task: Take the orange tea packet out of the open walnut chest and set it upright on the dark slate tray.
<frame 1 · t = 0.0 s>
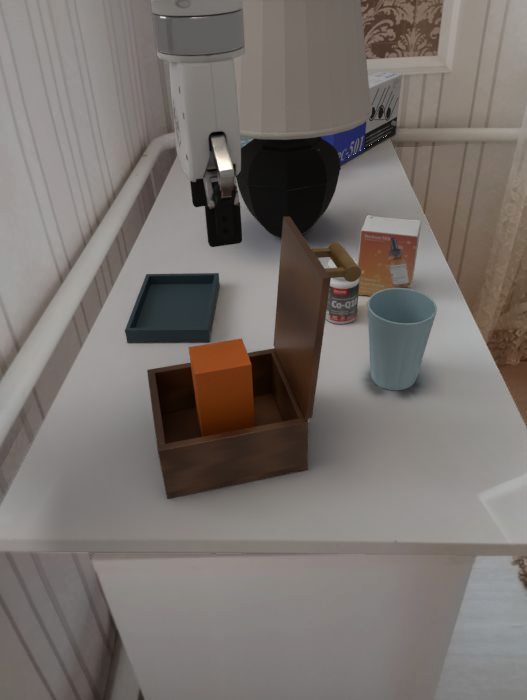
hand: (216, 223, 61), 21 cm above the cabinet, tool pointing down, fingers open, 9 cm apart
packet: (227, 435, 65), point 1 cm above the cabinet, touching chest
ink box: (355, 149, 142), on the cabinet
lid: (319, 314, 59), point 15 cm above the cabinet, hinge at 95.0°
table lamp: (287, 233, 107), on the cabinet
cup: (392, 377, 74), on the cabinet
chest: (227, 441, 66), on the cabinet
small box: (384, 290, 90), on the cabinet
book: (267, 169, 133), on the cabinet
tray: (176, 311, 87), on the cabinet
pill bottle: (339, 316, 85), on the cabinet
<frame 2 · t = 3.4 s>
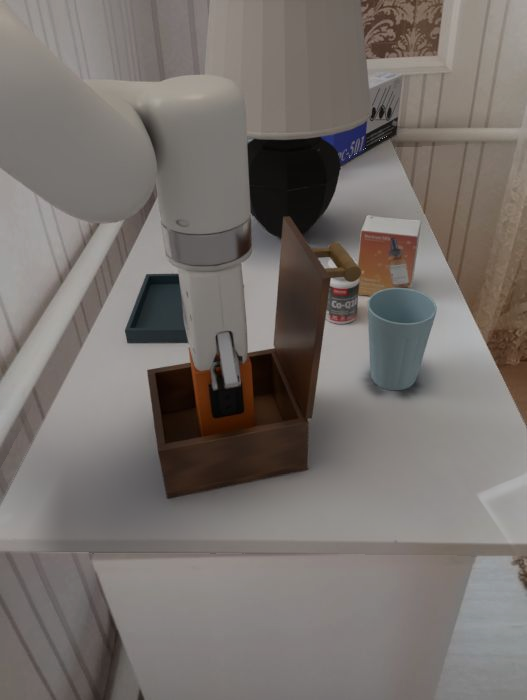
hand: (223, 395, 62), 7 cm above the cabinet, tool pointing down, fingers closed on packet, 4 cm apart
packet: (227, 435, 65), point 1 cm above the cabinet, touching chest, gripper
everything else where it was.
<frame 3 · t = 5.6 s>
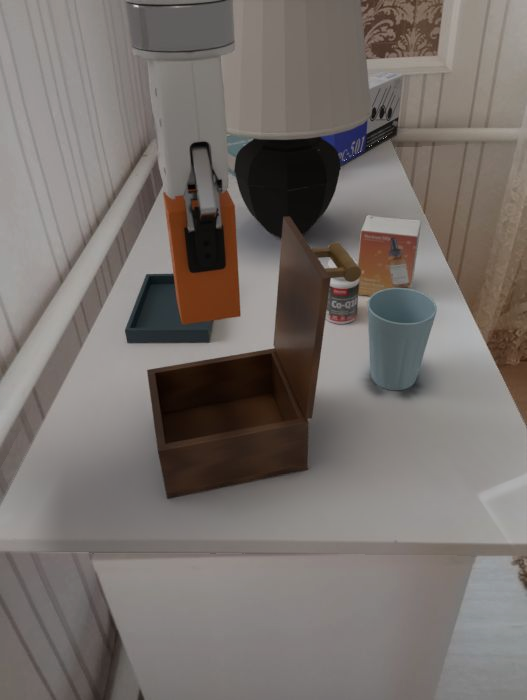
hand: (202, 253, 54), 22 cm above the cabinet, tool pointing down, fingers closed on packet, 4 cm apart
packet: (208, 308, 57), point 16 cm above the cabinet, touching gripper
everything else where it was.
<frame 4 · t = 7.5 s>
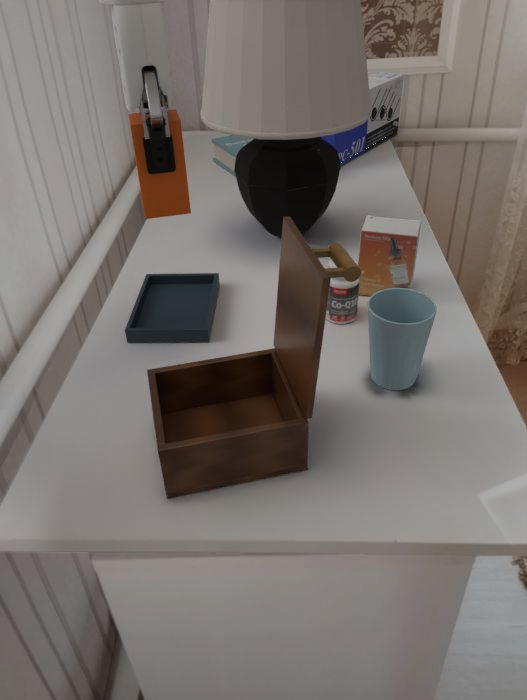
hand: (159, 162, 70), 23 cm above the cabinet, tool pointing down, fingers closed on packet, 4 cm apart
packet: (166, 209, 74), point 17 cm above the cabinet, touching gripper
everything else where it was.
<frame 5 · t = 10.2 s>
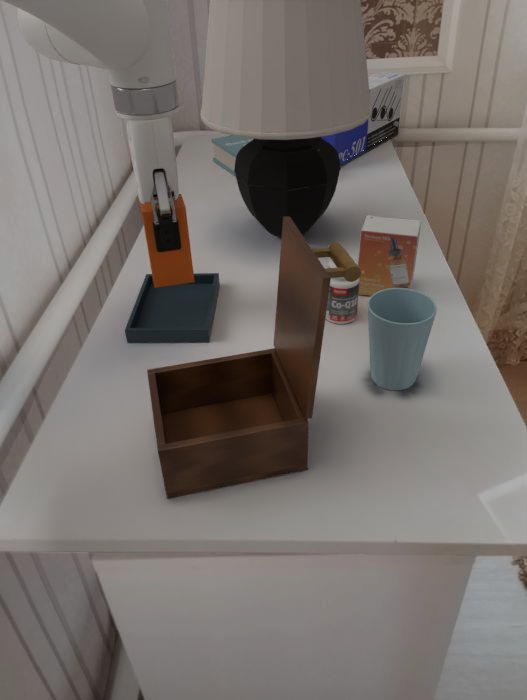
hand: (166, 239, 80), 11 cm above the cabinet, tool pointing down, fingers closed on packet, 4 cm apart
packet: (172, 277, 84), point 6 cm above the cabinet, touching gripper
everything else where it was.
when the fingers open (6 cm above the cabinet, at t = 11.9 s): packet stays where it is, resting on tray.
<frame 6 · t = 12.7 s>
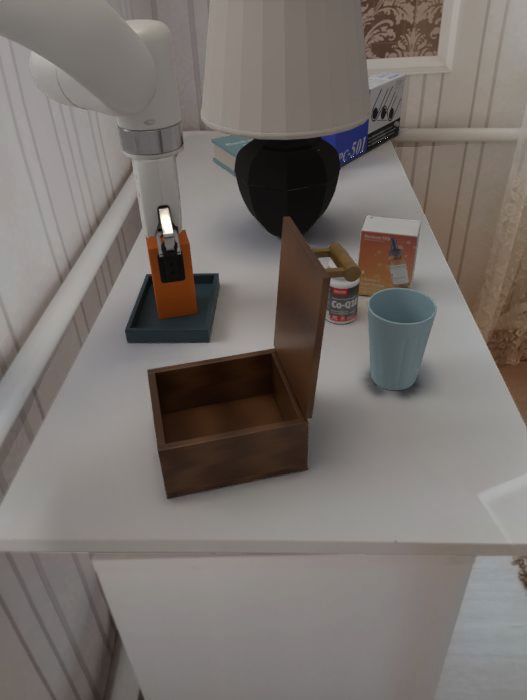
hand: (169, 263, 82), 8 cm above the cabinet, tool pointing down, fingers open, 9 cm apart
packet: (176, 308, 87), point 1 cm above the cabinet, touching tray
everything else where it was.
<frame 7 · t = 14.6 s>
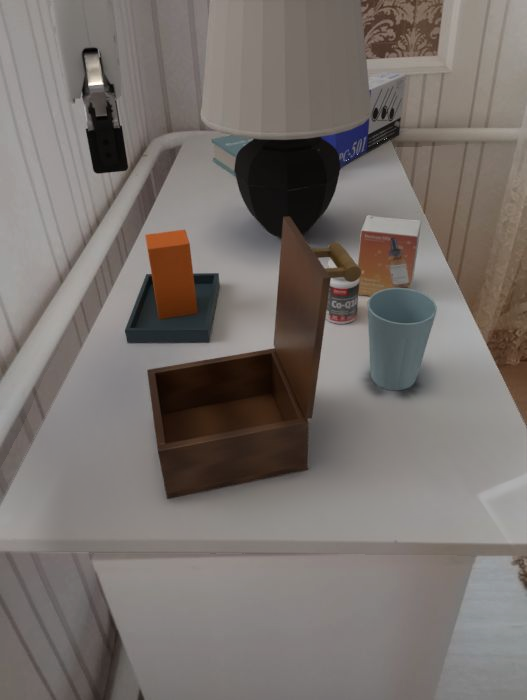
hand: (109, 155, 60), 27 cm above the cabinet, tool pointing down, fingers open, 9 cm apart
nothing on the cabinet moved.
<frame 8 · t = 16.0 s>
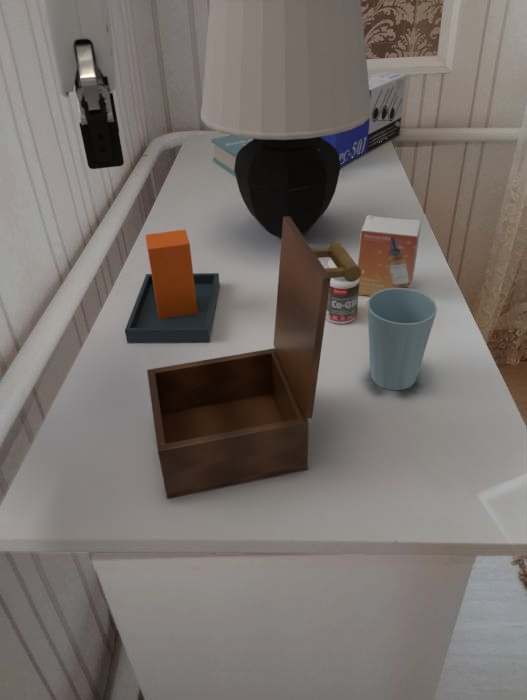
hand: (105, 149, 59), 28 cm above the cabinet, tool pointing down, fingers open, 9 cm apart
nothing on the cabinet moved.
at the end: packet inside the target area in the tray (0.1 cm from its centre), point 0.6 cm above the tray's base; packet tilted 0°; the gripper is holding nothing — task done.
